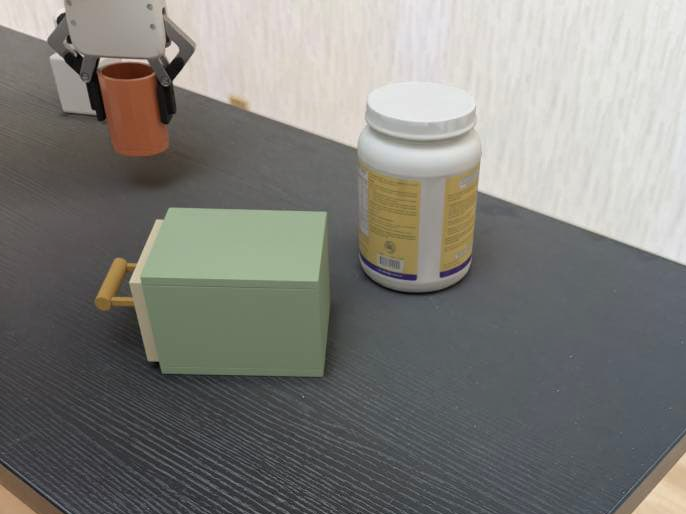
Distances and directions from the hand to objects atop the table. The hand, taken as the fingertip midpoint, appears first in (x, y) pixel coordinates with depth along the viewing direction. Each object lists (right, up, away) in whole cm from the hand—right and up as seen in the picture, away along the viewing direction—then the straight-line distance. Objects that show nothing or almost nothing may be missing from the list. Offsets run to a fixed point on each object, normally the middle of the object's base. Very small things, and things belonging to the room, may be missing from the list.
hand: (135, 117), depth 93 cm
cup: (0, -2, +2) cm, 3 cm away
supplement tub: (+32, -20, -6) cm, 38 cm away
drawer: (+13, -29, -17) cm, 36 cm away
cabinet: (+16, -30, -16) cm, 37 cm away
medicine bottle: (-13, +13, +23) cm, 29 cm away
